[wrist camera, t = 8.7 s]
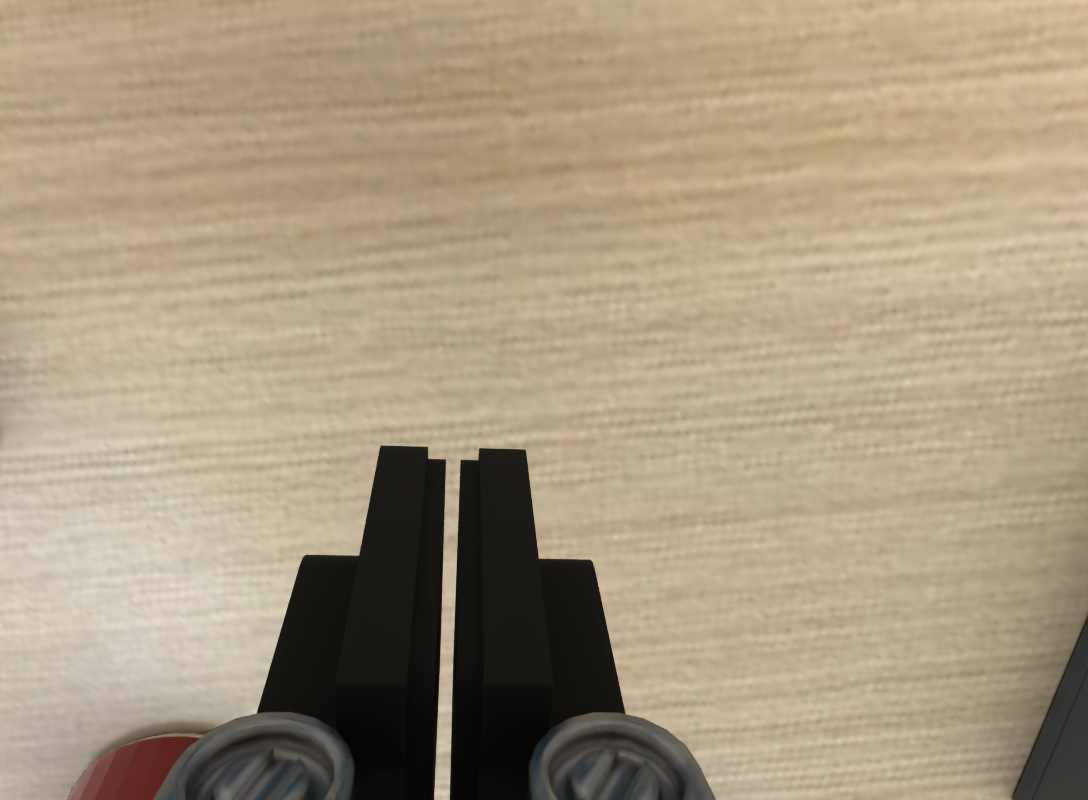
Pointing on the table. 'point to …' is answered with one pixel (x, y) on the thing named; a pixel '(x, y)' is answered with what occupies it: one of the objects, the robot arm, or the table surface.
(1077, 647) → the cabinet
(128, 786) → the soda can
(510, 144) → the table surface
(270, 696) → the robot arm
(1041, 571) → the table surface
